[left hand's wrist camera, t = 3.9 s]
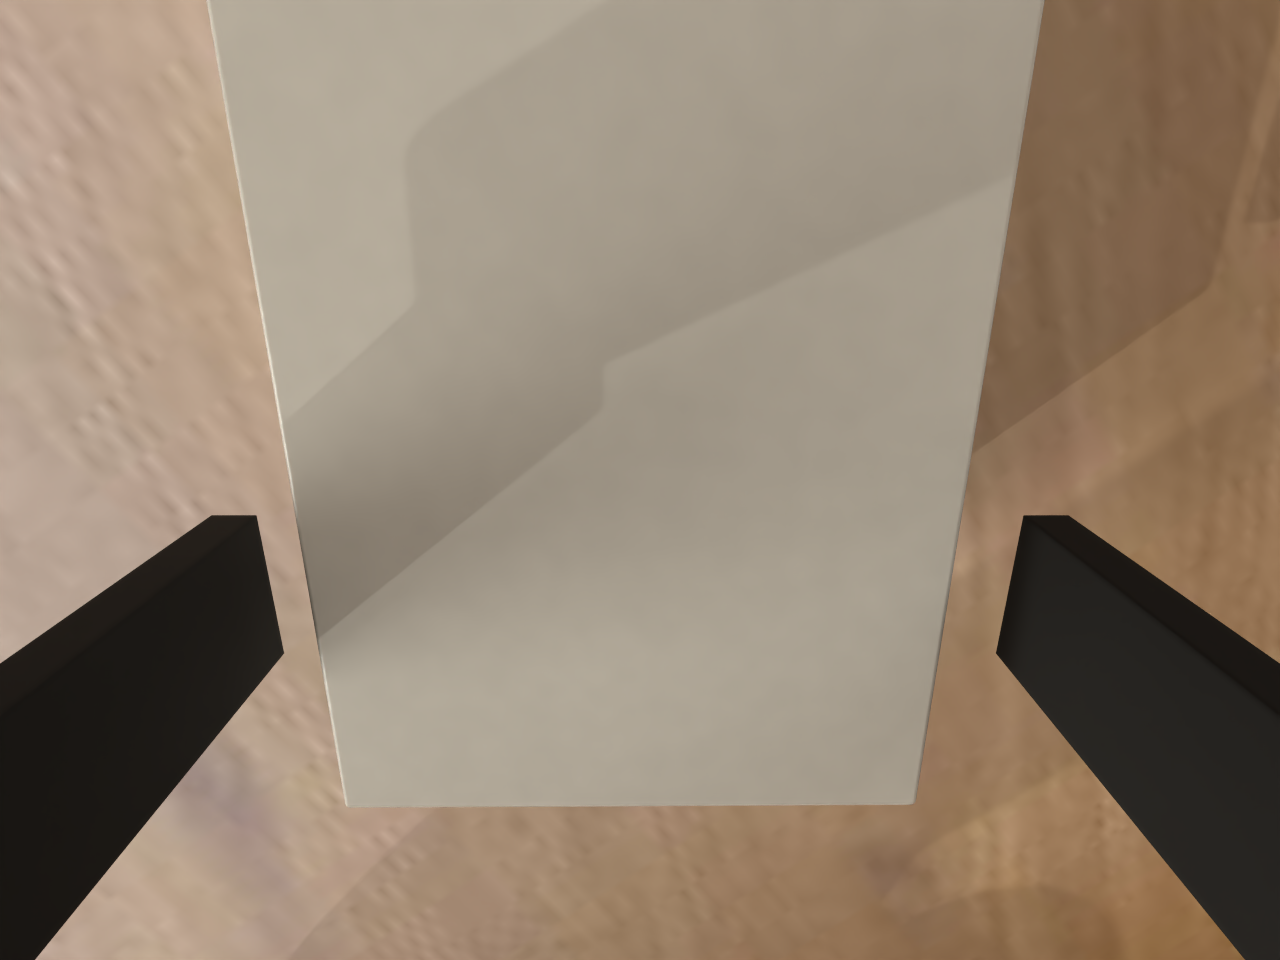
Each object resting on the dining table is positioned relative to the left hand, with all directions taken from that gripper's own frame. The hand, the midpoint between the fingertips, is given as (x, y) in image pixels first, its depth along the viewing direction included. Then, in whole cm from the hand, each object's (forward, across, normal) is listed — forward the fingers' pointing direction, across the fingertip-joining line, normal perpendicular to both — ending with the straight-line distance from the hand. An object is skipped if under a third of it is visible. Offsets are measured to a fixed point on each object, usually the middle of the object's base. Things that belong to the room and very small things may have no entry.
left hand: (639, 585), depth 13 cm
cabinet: (+8, 0, -4) cm, 9 cm away
